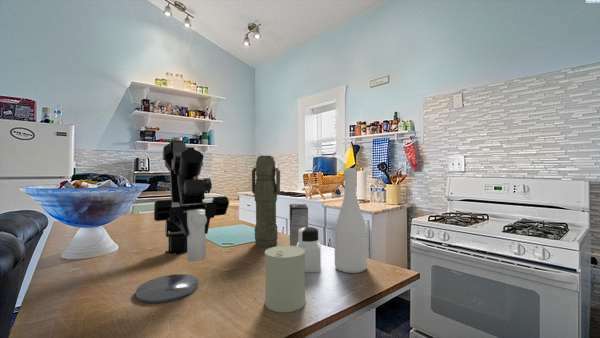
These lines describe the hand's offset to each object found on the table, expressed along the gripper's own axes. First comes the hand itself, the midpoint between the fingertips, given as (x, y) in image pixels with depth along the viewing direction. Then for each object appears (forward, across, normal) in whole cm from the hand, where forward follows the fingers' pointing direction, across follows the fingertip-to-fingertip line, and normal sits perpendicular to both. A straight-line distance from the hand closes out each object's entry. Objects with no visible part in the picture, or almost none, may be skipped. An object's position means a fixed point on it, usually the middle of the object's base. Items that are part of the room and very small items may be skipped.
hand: (197, 234), depth 72 cm
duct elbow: (+5, 0, +5) cm, 7 cm away
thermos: (-9, +31, +29) cm, 43 cm away
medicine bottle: (+12, +31, +7) cm, 34 cm away
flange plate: (+8, -7, +11) cm, 15 cm away
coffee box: (-1, +39, +20) cm, 44 cm away
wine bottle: (+17, +42, +2) cm, 45 cm away
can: (+23, +15, -4) cm, 28 cm away
